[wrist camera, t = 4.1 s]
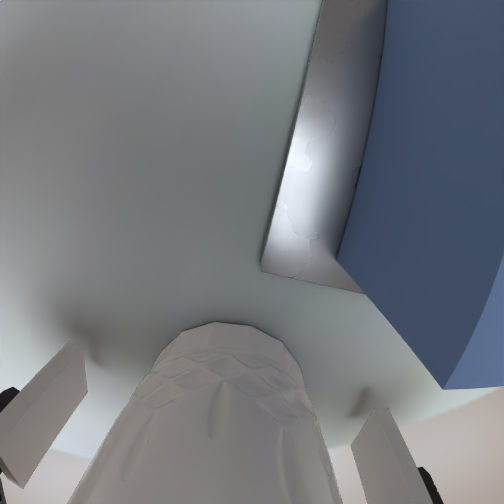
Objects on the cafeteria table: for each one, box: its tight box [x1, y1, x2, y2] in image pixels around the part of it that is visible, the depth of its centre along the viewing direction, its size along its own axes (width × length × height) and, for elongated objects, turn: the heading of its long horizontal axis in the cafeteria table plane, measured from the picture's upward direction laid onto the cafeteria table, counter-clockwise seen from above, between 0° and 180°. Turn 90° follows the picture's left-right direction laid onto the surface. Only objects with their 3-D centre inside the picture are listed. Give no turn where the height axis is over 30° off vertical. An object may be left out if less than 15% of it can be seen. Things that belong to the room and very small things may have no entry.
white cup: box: [67, 322, 343, 504], centre depth 8 cm, size 8×8×10 cm
